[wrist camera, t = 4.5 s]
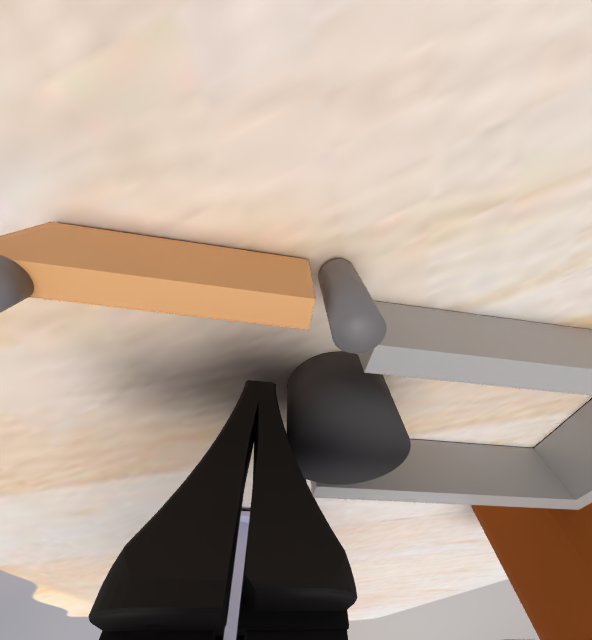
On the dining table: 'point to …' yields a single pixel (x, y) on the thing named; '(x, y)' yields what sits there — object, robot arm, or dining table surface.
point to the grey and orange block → (546, 564)
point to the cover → (184, 280)
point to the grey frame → (488, 369)
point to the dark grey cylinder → (343, 421)
